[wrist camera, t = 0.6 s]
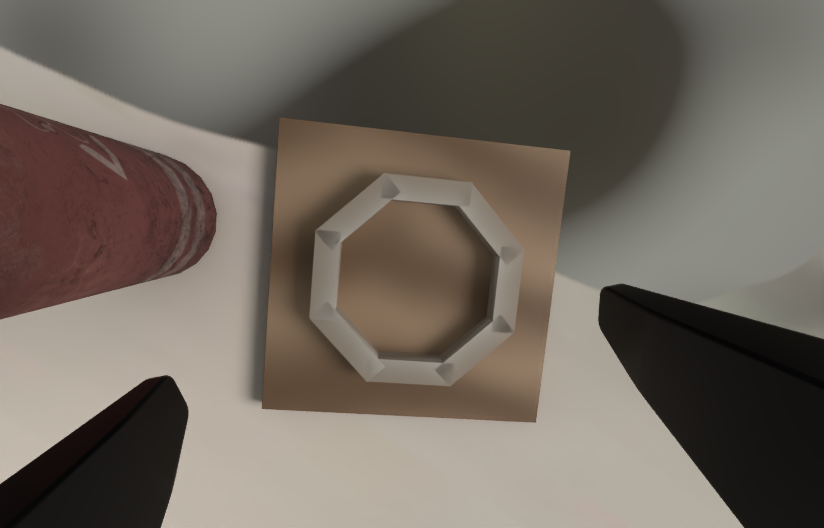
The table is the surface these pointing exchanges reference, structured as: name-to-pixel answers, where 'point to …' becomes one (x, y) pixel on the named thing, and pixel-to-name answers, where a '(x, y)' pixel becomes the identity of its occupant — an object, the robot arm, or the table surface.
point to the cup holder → (410, 273)
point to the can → (90, 214)
